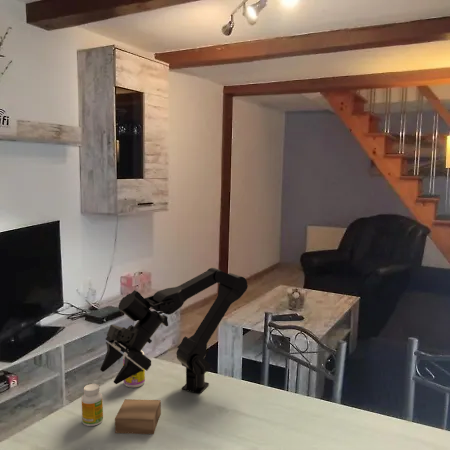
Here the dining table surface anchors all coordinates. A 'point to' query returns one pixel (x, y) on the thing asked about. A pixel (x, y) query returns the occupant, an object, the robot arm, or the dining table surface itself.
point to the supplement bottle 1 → (92, 405)
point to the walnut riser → (138, 416)
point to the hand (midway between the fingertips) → (107, 377)
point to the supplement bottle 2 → (134, 376)
